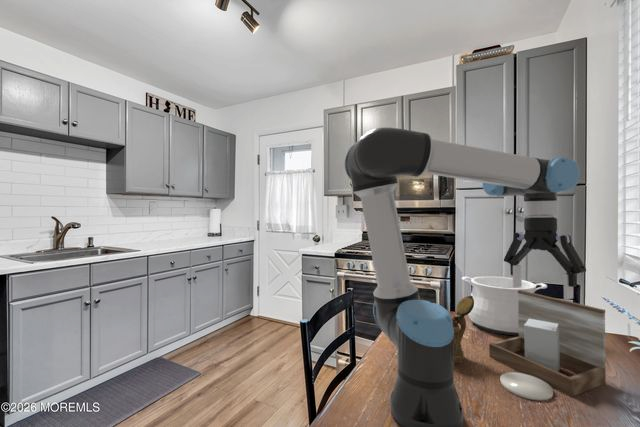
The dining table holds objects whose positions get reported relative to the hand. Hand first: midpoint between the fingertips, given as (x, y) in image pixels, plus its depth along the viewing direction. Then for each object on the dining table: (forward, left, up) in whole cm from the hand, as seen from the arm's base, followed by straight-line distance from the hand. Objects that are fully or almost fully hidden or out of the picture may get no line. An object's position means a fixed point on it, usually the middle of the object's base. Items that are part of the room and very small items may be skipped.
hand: (541, 292), depth 85 cm
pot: (+20, +27, -22) cm, 40 cm away
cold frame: (0, 0, -21) cm, 21 cm away
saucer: (-13, -4, -21) cm, 25 cm away
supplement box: (0, 0, -22) cm, 22 cm away
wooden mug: (-16, +16, -22) cm, 31 cm away
